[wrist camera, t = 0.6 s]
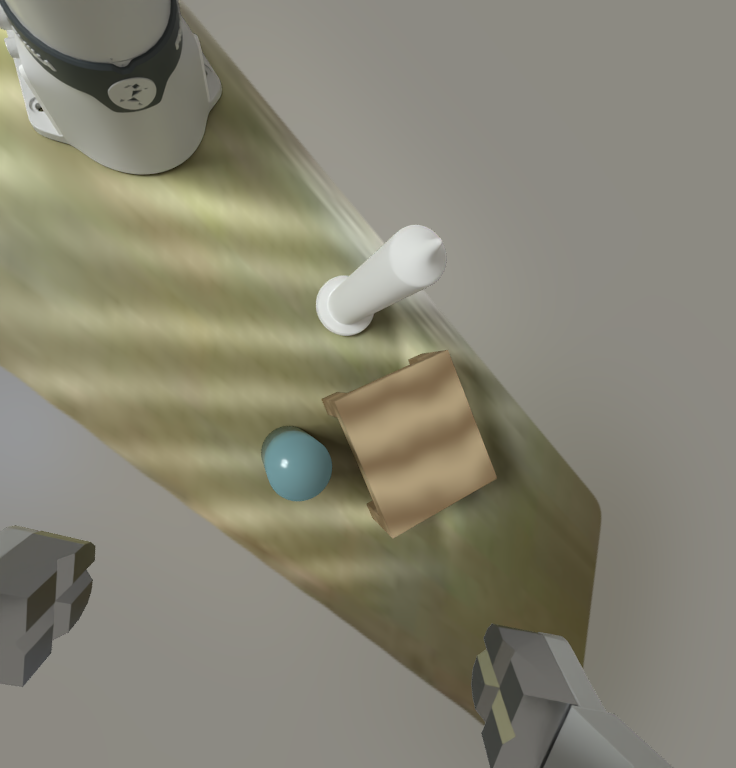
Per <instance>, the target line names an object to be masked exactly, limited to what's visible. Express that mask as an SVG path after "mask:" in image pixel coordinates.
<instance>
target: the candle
mask: <svg viewBox="0 0 736 768" xmlns="http://www.w3.org/2000/svg"><path fill="white" fill-rule="evenodd" d="M446 261H447V256H446V250H445V247H444V244H443V241H442V239H440V237H439V236H438V235H437V234H436V233H435V232H434V231H432V230H431V229H430V228H427V227H425V226H422V225H409V226H406V227H404V228H402V229H400V230H399V231H398V232H397V233H395V234H394V236H392V237H391V238H390V239H389V240H388V241H387V242H386V243H385V244H384V245H383V246H381V247H380V248H379V249H378V250H377V251H376V252H375V253H374V254H373V255H372V256H371V257H370V258H368V259H367V260H366V261H365V262H364V263H363V264H362V265H361V266H360V267H359V268H358V269H357V270H355V271H354V272H353V273H352V274H351V275H350V276H337V277H334V278H332V279H330V280H328V281H327V282H326V283H325V284H324V285H323V286H322V287H321V289H320V291H319V293H318V295H317V299H316V310H317V314H318V317H319V319H320V321H321V322H322V324H323V325H324V326H325V327H326V328H327V329H328V330H330V331H331V332H333V333H335V334H338V335H342V336H351V335H355V334H357V333H360V332H361V331H363V330H364V329H365V328H366V327H367V326H368V325H369V324H370V322H371V320H372V318H373V315H374V313H376V312H378V311H380V310H382V309H384V308H386V307H388V306H390V305H392V304H394V303H396V302H398V301H400V300H402V299H404V298H406V297H408V296H410V295H412V294H414V293H416V292H418V291H421V290H423V289H424V288H427V287H429V286H431V285H432V284H434V283H435V282H437V281H438V280H439V278H440V277H441V276H442V274H443V272H444V270H445V267H446Z"/></svg>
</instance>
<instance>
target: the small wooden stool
mask: <svg viewBox="0 0 736 768" xmlns="http://www.w3.org/2000/svg"><path fill="white" fill-rule="evenodd" d="M409 363H410V365H408V366H406V367H404V368H402V369H399V370H397V371H395V372H393V373H391V374H388V375H386V376H384V377H382V378H380V379H377V380H375V381H373V382H371V383H369V384H366V385H364V386H362V387H360V388H358V389H355V390H353V391H351V392H349V393H340V392H336V393H334V394H331V395H329V396H327V397H325V398H323V399H322V401H323V404H324V406H325V408H326V411H327V413H328V415H331V416H334V417H337V418H338V420H339V422H340V424H341V427H342V429H343V431H344V434H345V436H346V438H347V441H348V443H349V445H350V448H351V450H352V452H353V455H354V457H355V459H356V462H357V464H358V466H359V469H360V471H361V473H362V476H363V478H364V480H365V483H366V485H367V487H368V490H369V492H370V494H371V497H372V499H373V501H371V502H369V503H367V506H368V508H369V511H370V513H371V515H372V518H373V519H374V520H375V521H376V522H377V523H378V524H379V525H380V526H381V527H382V528H383V529H384V530H385V531H386V532H387V533H388V534H389V535H390V536H391V537H392V538H394V537H396V536H398V535H400V534H401V533H403V532H405V531H407V530H408V529H410V528H412V527H413V526H415V525H417V524H419V523H420V522H422V521H424V520H426V519H427V518H429V517H431V516H433V515H434V514H436V513H438V512H440V511H441V510H443V509H445V508H447V507H448V506H450V505H452V504H453V503H455V502H457V501H459V500H460V499H462V498H464V497H466V496H467V495H469V494H471V493H473V492H474V491H476V490H478V489H480V488H481V487H483V486H485V485H487V484H488V483H490V482H492V481H493V480H495V479H497V476H496V474H495V471H494V469H493V466H492V463H491V461H490V458H489V456H488V453H487V450H486V448H485V445H484V443H483V440H482V437H481V435H480V432H479V430H478V427H477V424H476V422H475V419H474V417H473V414H472V411H471V409H470V406H469V404H468V401H467V398H466V396H465V393H464V391H463V388H462V385H461V383H460V380H459V378H458V375H457V372H456V370H455V367H454V365H453V362H452V359H451V357H450V354H449V352H448V350H444V351H438V352H431V353H424V354H420V355H418V356H416V357H414V358H411V359H409Z"/></svg>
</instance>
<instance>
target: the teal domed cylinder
mask: <svg viewBox="0 0 736 768" xmlns="http://www.w3.org/2000/svg"><path fill="white" fill-rule="evenodd" d="M261 457H262V461H263V464H264V467H265V470H266V473H267V476H268V479H269V482H270V484H271V486H272V488H273V489H274V490H275V492H276V493H277V494H279V495H280V496H281V497H283V498H285V499H288V500H291V501H304V500H308V499H311V498H313V497H315V496H316V495H318V494H319V493H320V492H321V491H322V490H323V489H324V488H325V487H326V485H327V484H328V482H329V480H330V477H331V473H332V461H331V457H330V454H329V453H328V451H327V449H326V448H325V447H324V446H323V445H322V444H321V443H320V442H319V441H317V440H316V439H314V438H313V437H312V436H310V435H309V434H308V433H306V432H305V431H303V430H302V429H300V428H298V427H294V426H283V427H280V428H277V429H275V430H274V431H272V432H271V433H270V434H269V435H268V436H267V437H266V439H265V440H264V442H263V445H262V449H261Z"/></svg>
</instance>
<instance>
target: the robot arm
mask: <svg viewBox="0 0 736 768" xmlns="http://www.w3.org/2000/svg"><path fill="white" fill-rule="evenodd" d="M0 28H1V29H4V30H7V34H8V38H5V39H4V40H5V44H6V47H7V49H8V51H9V53H10V55H11V56H12V58H14V62H15V66H16V70H17V74H18V78H19V82H20V86H21V90H22V94H23V98H24V102H25V106H26V110H27V114H28V118H29V120H30V122H31V124H32V126H33V128H34V129H35V130H36V131H37V132H38V133H39V134H41V135H43V136H45V137H47V138H50V139H53V140H56V141H60V142H63V143H67V144H70V145H72V146H73V147H75V148H77V149H78V150H80V151H81V152H82V153H84V154H85V155H87V156H88V157H90V158H91V159H93V160H94V161H96V162H98V163H100V164H102V165H104V166H106V167H109V168H111V169H114V170H117V171H121V172H125V173H131V174H154V173H160V172H164V171H167V170H170V169H172V168H174V167H176V166H178V165H180V164H181V163H183V162H184V161H186V160H187V159H188V158H189V157H190V156H191V155H192V154H193V153H194V152H195V150H196V149H197V147H198V146H199V144H200V142H201V140H202V138H203V135H204V132H205V128H206V122H207V117H208V114H209V111H210V110H211V109H212V108H213V106H214V105H215V104H216V103H217V101H218V100H219V98H220V96H221V94H222V86H221V82H220V79H219V77H218V76H217V74H216V73H215V71H214V70H213V68H212V66H211V65H210V63H209V62H208V60H207V59H206V57H205V55H204V54H203V52H202V50H201V45H200V41H199V38H198V36H197V35H196V34H193V33H192V31H191V29H190V28H189V26H188V24H187V23H186V21H185V20H184V18H183V17H182V16H181V13H180V7H179V3H178V0H0ZM206 75H207V76H206ZM41 107H42V109H43V110H44V111H43V112H40V111H38V109H39V108H41ZM94 560H95V545H93V544H92V543H91V542H88V541H83V540H79V539H75V538H71V537H66V536H62V535H58V534H53V533H49V532H44V531H38V530H33V529H29V528H25V527H19V526H16V525H15V526H11V527H6V528H5V529H3V530H2V531H0V684H6V685H14V686H21V687H23V686H24V685H25V684H26V682H27V681H28V680H29V679H30V678H31V676H32V675H33V674H34V673H35V672H36V671H37V669H38V668H39V667H40V666H41V664H42V663H43V662H44V661H45V660H46V659H47V657H48V656H49V655H50V654H51V650H52V640H54V639H56V638H58V637H60V636H62V635H64V634H66V633H68V632H69V631H70V630H71V628H72V627H73V626H74V625H75V624H76V622H77V621H78V620H79V618H80V616H81V615H82V613H83V611H84V609H85V607H86V605H87V603H88V600H89V597H90V594H91V589H92V581H93V580H92V578H91V576H90V575H89V573H88V572H87V570H86V569H87V568H88V567H89V566H90V565H91V564H92V563H93V562H94ZM484 641H485V645H486V648H487V649H486V650H485V651H483V652H482V653H480V654H479V655H478V656H477V658H476V661H475V664H474V667H473V672H472V684H471V685H472V696H473V701H474V705H475V709H476V711H477V712H478V713H479V714H480V716H481V717H482V718H483V719H484V721H485V722H486V723H485V726H484V728H483V731H482V737H483V741H484V745H485V749H486V753H487V757H488V761H489V765H490V768H673V767H672V766H671V765H670V764H669V763H668V762H667V761H666V760H664V758H662V757H661V756H660V755H659V754H658V753H657V752H656V751H655V750H654V749H652V747H650V746H649V745H648V744H647V743H646V742H645V741H644V740H643V739H642V738H640V737H639V736H638V735H637V734H636V733H635V732H634V731H633V730H632V729H631V728H630V727H628V726H627V725H626V724H625V723H624V722H623V721H622V720H621V719H620V718H619V717H618V716H616V715H615V714H614V713H609V712H606V710H605V708H604V706H603V704H602V703H601V701H600V699H599V697H598V696H597V694H596V692H595V690H594V688H593V686H592V685H591V683H590V681H589V679H588V677H587V675H586V674H585V672H584V670H583V668H582V666H581V665H580V663H579V661H578V659H577V657H576V656H575V654H574V652H573V650H572V648H571V647H570V645H569V643H568V641H567V640H566V639H564V638H563V637H562V636H557V635H552V634H546V633H541V632H538V633H536V632H532V631H527V630H522V629H517V628H512V627H507V626H502V625H496V624H491V625H490V627H489V628H488V629H487V631H486V634H485V636H484Z"/></svg>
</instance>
